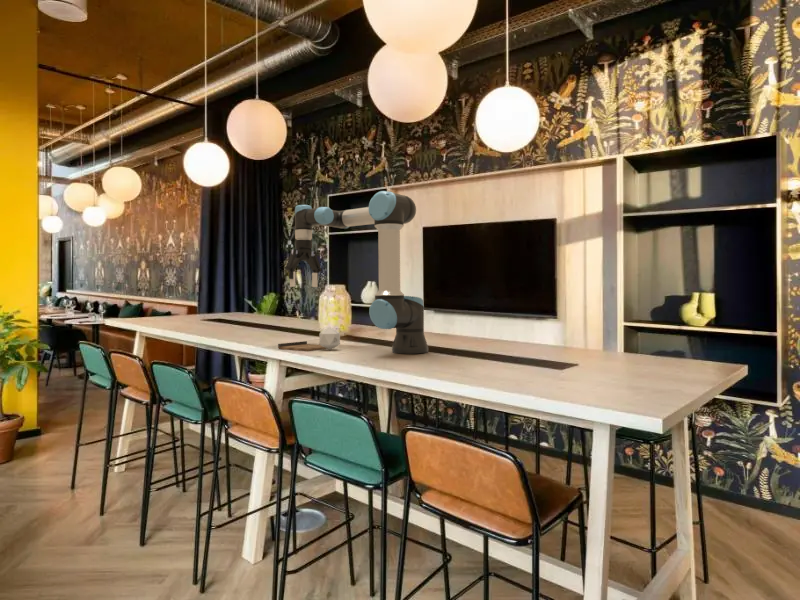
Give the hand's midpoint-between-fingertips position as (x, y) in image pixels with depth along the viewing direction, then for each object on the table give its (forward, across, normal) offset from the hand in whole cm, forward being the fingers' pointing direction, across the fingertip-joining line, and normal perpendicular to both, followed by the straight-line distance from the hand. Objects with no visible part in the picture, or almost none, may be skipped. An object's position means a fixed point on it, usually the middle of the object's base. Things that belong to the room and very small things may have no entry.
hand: (304, 286), depth 245 cm
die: (+27, +7, +22) cm, 36 cm away
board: (+27, +7, +8) cm, 29 cm away
